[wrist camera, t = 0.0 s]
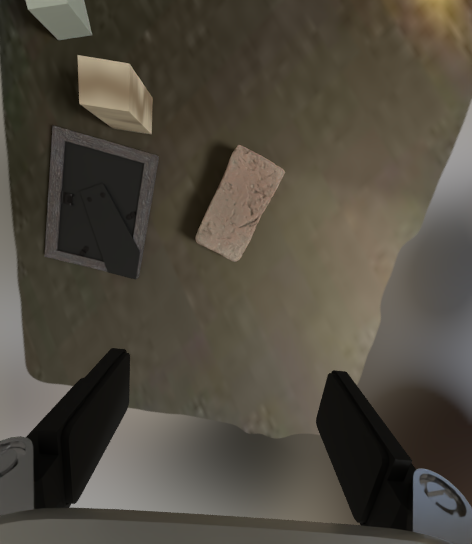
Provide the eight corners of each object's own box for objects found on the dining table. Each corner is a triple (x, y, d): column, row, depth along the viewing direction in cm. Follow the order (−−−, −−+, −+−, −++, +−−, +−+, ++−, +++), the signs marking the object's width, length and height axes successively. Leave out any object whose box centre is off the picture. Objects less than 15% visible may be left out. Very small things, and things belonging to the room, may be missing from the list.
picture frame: (140, 276, 42) (160, 157, 37) (135, 279, 40) (156, 154, 35) (51, 254, 40) (60, 129, 35) (42, 256, 38) (50, 123, 34)
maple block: (112, 91, 34) (77, 55, 26) (152, 98, 34) (129, 63, 26) (113, 128, 35) (79, 103, 27) (151, 134, 35) (129, 111, 28)
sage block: (47, -3, 31) (12, -44, 26) (82, -9, 31) (54, -50, 26) (58, 40, 32) (28, 9, 27) (92, 35, 32) (67, 3, 27)
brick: (236, 260, 41) (237, 265, 36) (195, 240, 40) (190, 243, 35) (280, 174, 38) (287, 168, 33) (236, 149, 37) (237, 139, 32)
